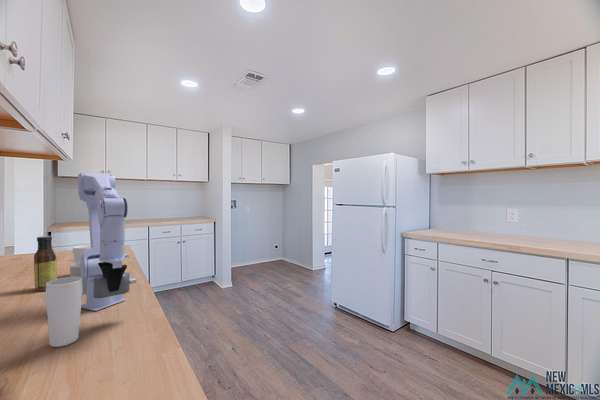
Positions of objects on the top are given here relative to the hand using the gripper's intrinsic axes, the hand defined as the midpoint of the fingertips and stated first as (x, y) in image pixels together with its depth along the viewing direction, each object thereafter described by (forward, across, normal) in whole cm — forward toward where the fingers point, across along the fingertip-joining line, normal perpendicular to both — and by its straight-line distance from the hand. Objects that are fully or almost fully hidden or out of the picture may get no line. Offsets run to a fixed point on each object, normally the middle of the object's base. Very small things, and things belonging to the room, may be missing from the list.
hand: (112, 288), depth 76 cm
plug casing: (+1, 0, 0) cm, 1 cm away
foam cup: (+10, +60, 0) cm, 60 cm away
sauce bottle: (+10, +48, +13) cm, 51 cm away
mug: (+10, +36, +2) cm, 37 cm away
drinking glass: (+10, -5, +10) cm, 15 cm away
